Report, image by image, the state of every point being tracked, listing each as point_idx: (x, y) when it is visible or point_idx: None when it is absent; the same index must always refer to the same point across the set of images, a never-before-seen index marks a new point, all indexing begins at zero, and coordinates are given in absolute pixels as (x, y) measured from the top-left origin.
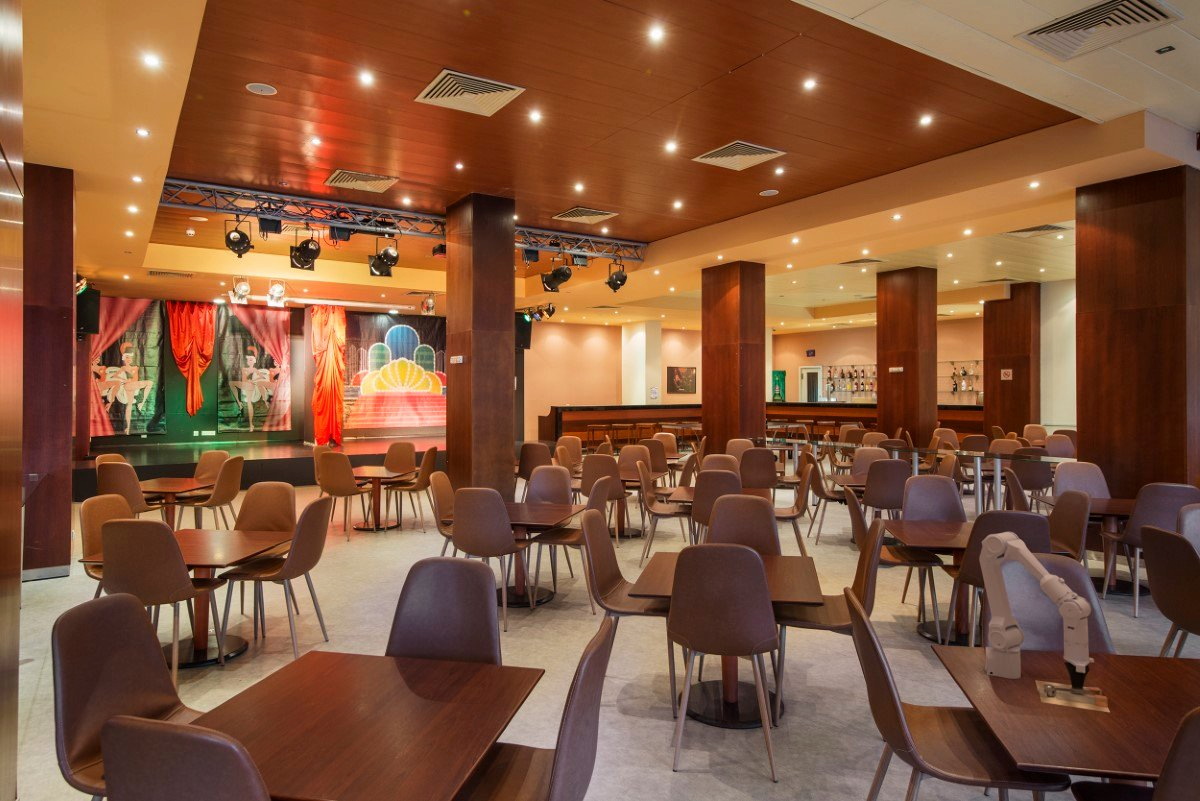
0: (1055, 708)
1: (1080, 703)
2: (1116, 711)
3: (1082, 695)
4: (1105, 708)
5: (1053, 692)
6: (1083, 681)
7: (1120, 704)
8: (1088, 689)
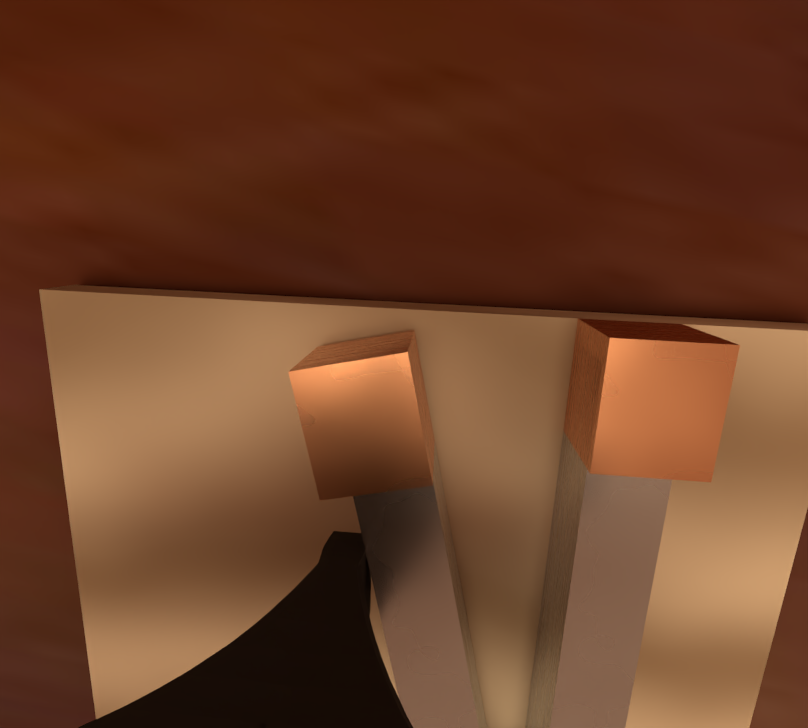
0: None
1: None
2: (575, 213)
3: (643, 604)
4: None
5: None
6: (367, 615)
7: (316, 116)
8: (409, 503)
